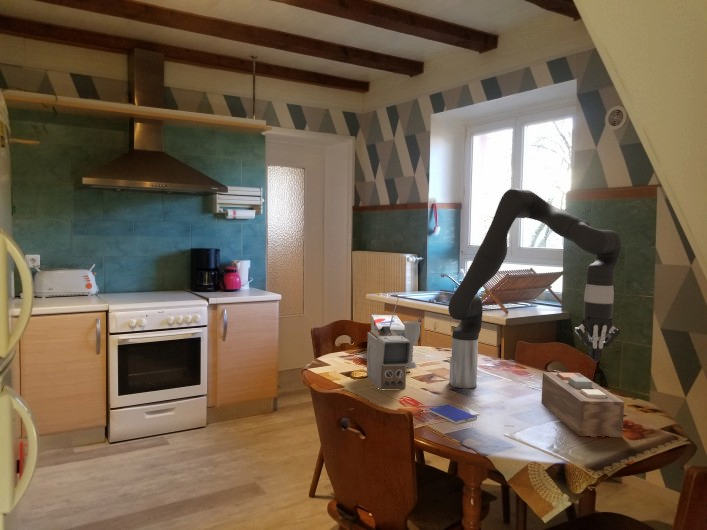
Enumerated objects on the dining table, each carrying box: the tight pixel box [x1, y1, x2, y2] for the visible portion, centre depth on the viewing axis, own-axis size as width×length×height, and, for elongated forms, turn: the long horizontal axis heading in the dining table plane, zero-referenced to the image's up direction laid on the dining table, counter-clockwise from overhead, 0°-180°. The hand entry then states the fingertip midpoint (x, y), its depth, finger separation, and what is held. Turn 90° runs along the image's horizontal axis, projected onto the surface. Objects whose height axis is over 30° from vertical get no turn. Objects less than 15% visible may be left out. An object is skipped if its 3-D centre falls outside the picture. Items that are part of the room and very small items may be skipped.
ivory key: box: [581, 389, 606, 398], centre depth 161 cm, size 5×5×5 cm
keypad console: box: [540, 371, 625, 438], centre depth 170 cm, size 12×30×10 cm, turn 1°
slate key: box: [569, 376, 593, 389], centre depth 170 cm, size 5×5×5 cm
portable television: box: [366, 297, 412, 390], centre depth 202 cm, size 12×24×30 cm, turn 12°
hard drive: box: [428, 403, 478, 425], centre depth 171 cm, size 2×8×12 cm
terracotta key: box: [557, 372, 578, 380], centre depth 179 cm, size 5×5×5 cm
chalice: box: [403, 320, 422, 369], centre depth 227 cm, size 7×7×18 cm
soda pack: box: [370, 314, 405, 338], centre depth 255 cm, size 41×13×14 cm, turn 2°
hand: (595, 360), depth 160 cm, fingers closed
